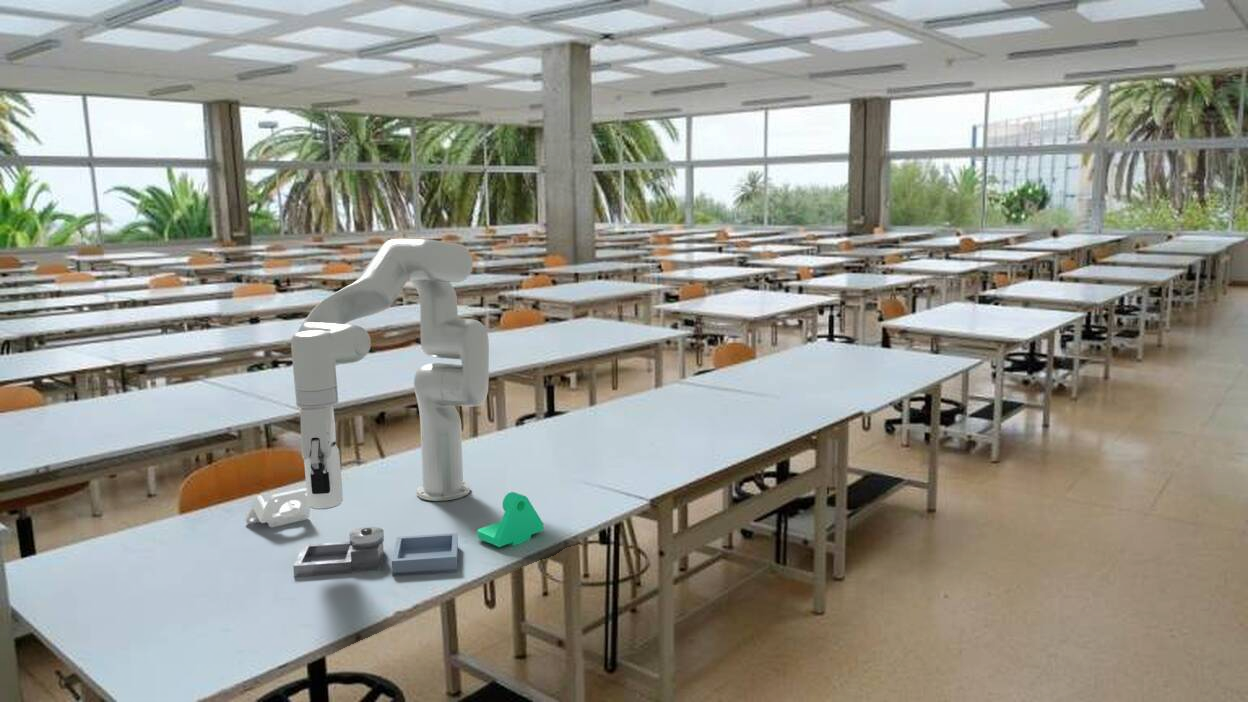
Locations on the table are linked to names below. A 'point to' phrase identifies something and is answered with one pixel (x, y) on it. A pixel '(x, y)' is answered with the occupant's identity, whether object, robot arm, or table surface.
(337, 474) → the can
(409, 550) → the tray
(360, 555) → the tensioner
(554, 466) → the table surface
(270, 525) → the mounting bracket
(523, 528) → the camera mount
